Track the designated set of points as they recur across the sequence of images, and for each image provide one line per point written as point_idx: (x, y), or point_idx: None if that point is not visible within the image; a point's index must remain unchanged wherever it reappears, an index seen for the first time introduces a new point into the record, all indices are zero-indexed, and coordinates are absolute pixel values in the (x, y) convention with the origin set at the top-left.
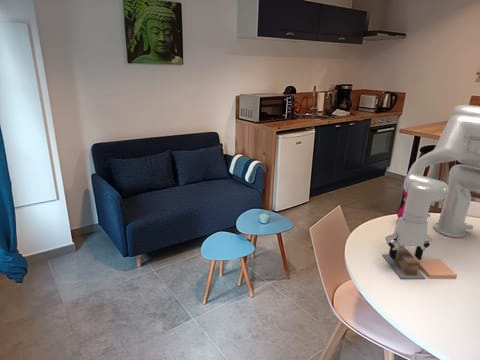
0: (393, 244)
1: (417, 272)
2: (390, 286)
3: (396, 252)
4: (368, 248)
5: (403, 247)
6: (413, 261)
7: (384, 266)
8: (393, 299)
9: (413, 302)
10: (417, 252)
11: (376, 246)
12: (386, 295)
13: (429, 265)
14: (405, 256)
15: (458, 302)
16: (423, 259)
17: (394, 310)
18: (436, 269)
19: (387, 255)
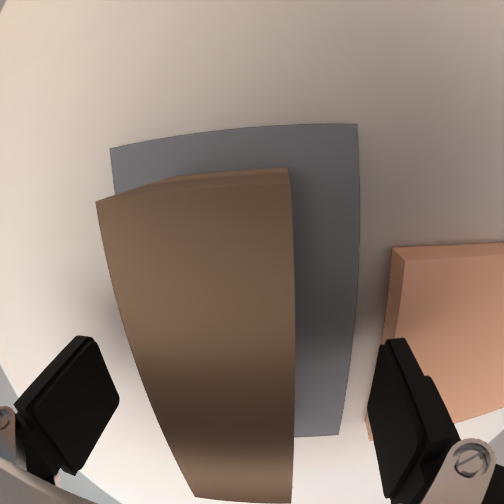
0: (11, 452)
1: (320, 397)
2: (121, 445)
3: (85, 459)
4: (52, 61)
5: (266, 267)
6: (249, 491)
7: (103, 314)
8: (127, 480)
9: (193, 499)
10: (389, 425)
11: (125, 2)
12: (106, 466)
13: (458, 345)
14: (200, 447)
15: (368, 499)
16: (476, 263)
17: (127, 497)
18: (462, 383)
19: (149, 165)
